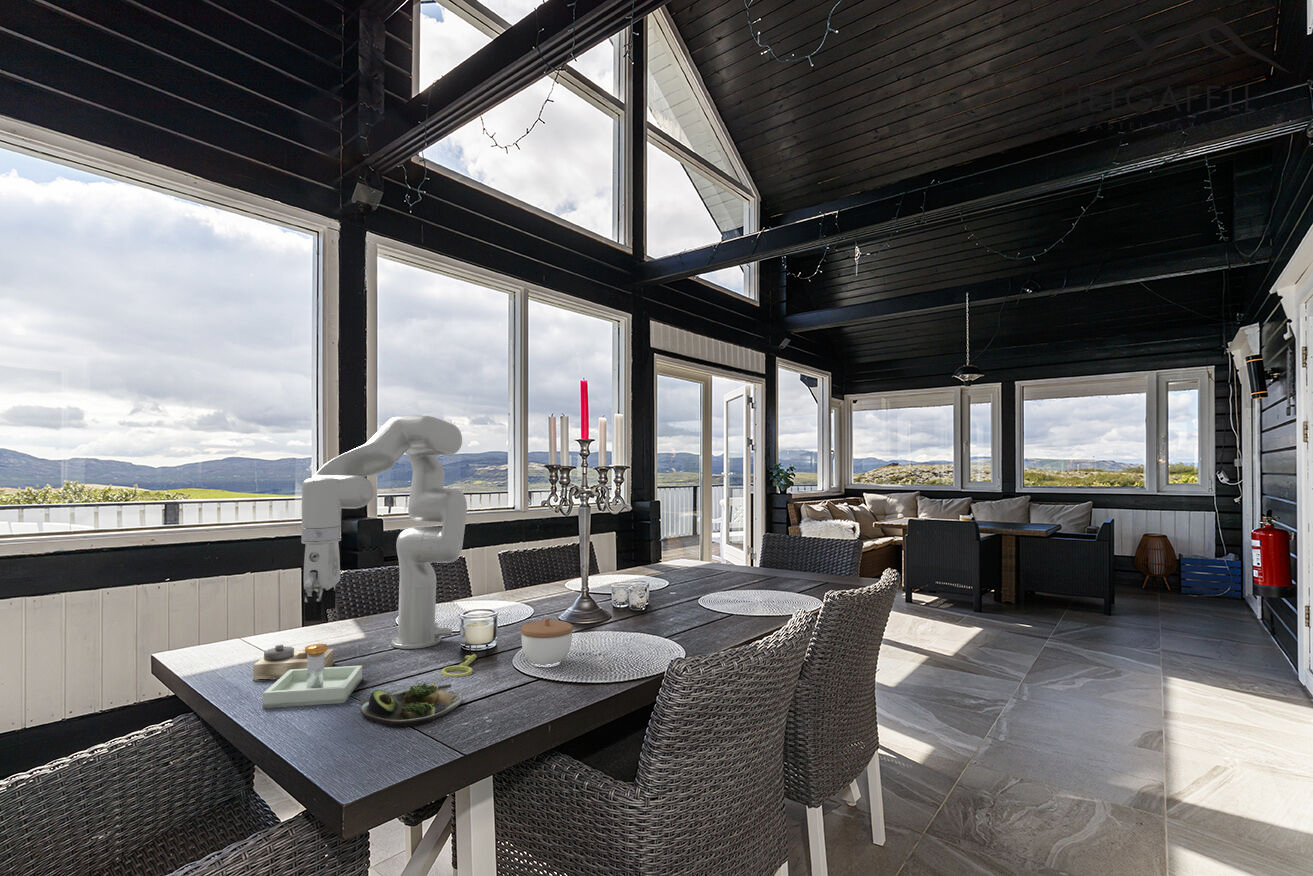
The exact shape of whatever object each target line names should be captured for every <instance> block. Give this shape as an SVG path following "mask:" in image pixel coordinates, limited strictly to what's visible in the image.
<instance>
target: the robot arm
mask: <svg viewBox="0 0 1313 876" xmlns="http://www.w3.org/2000/svg"><path fill="white" fill-rule="evenodd" d="M462 444H463V436H462V432H461V430H460V429H459V428H458V427H457V426H456V425H455V424H453V423H450V422H447V421H445V420H443V419H441V418H437V417H434V416H431V415H397V416H393V417H391V418H389V419H388V420H387V421H386V422H385V423H384V424H383V425H382V426H381V427H380V428H379V429H378V430H377V431H376V432H375V433H374V434H373V435H372V436H371V437H370V438H369V439H368V440H367V441H366V442H365V443H364V444H362V445H360V446H358V447H356V448H353V449H351V450H349V451H347V452H344V453H342V454H340V455H338V456H335V457H334V458H332V459H331V460H329V461H328V462H326V463H324V464H323V466H321V467H320V468H319V469H318V470H317V471H316V472H315V473H314V474H313V476H312V477H310V478H306V479H305V480H304V481H303V482H302V487H301V544H303V545H305V548H304V560H303V561H304V562H303V589H304V590H305V592H304V621H305V622H319V621H322V620H323V610H333V609H335V608H336V607H337V606H336V603H337V601H336V600H337V598H336V597H337V596H336V588H337V587H336V586H337V584H338V583H340V580H341V563H340V562H341V560H340V559H341V558H340V557H341V556H340V546H339V542H341V541H342V509H360V508H363V507H366V506H367V505H368V504H370V502H371V501H372V500H373V497H374V494H375V488H374V485H373V483H372V482H371V481H370V479H369V478H367V477H370V476H374V475H378V474H381V473H383V472H386V471H389V470H390V469H392V468H393V467H394V466H395V464H396V463H397V462H398V461H399V459H401V457H402V456H403V455H404V454H406V456H407V458H408V460H409V462H410V464H411V468H412V479H411V485H410V490H409V491H410V493H409V499H408V504H407V505H408V507H407V509H408V511H407V513H408V517H409V518H410V519H411V520H412V521H415V522H419V523H439V524H440V523H441V524H442V527H435V526H434V527H433V526H412V527H407V528H405V529H404V530H402V531H401V532H400V533H399V534H398V536H397V538H396V547H395V548H396V553H397V558H398V566H399V567H398V569H399V585H398V617H397V618H398V619H397V620H398V621H397V627H398V628H397V636H396V637H394V638H393V639H391V646H392V647H393V648H396V649H400V650H401V649H402V650H403V649H404V650H413V649H414V650H415V649H423V648H429V647H432V646H436V645H438V644H439V643H440V642H441V640H442V638H441V637H442V636H445V637H446V636H447V637H449V636H450V637H451V636H452V634H453V629H452V628H451V627H450V628H449V627H440V626H438V622H436V608H437V607H436V605H437V604H436V603H437V574H436V571H435V569H434V567H433V566H432V564H431V563H439V564H440V563H441V564H444V563H445V564H447V563H454V562H456V561H457V560H458V559H459V558H460V555H461V553H462V550H463V545H464V538H465V536H464V535H465V531H466V530H465V529H466V520H467V512H468V504H467V503H468V502H467V498H466V496H465V494H464V492H462V491H461V490H459V489H457V488H456V489H455V488H444V484H445V483H444V482H445V470H444V467H443V464H442V463H441V461H440V460H439V459H438V458H437V456H451V455H455V454H457V453H458V452H459V451H460V449H461V447H462Z"/></svg>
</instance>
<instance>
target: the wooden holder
mask: <svg viewBox="0 0 1313 876" xmlns="http://www.w3.org/2000/svg"><path fill="white" fill-rule="evenodd" d="M334 653H335V648H327V651H325V657H324V668H326V667H332V666H333V664H334V659H335V658H334V657H335V656H334ZM307 656H308V654H307V653H305V649H304V650H295V648H294V647H292V646H284V644H277V645H275V646H274V647H273V648H269V649H267V650H264V652H263V657H262V658H261V659H259V660H258V661H256V662H255V663H254V664H253V669H252V671H253V672H252V681H253V680H254V681H258V680H257V679H271V680H277V679H276V678H281V677H282V676H283V675H284V674H285V673H286V672H287V671H289V670H290V669H307ZM273 678H275V679H273Z"/></svg>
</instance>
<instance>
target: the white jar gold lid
mask: <svg viewBox="0 0 1313 876" xmlns="http://www.w3.org/2000/svg"><path fill="white" fill-rule="evenodd" d="M327 649H328V644H326V643H314V644H310V645H307V646H305V647H304V650H305V653H307V654H308V656H307V684H306V689H309V688H323V686H324V657H325V651H327Z"/></svg>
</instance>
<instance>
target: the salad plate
mask: <svg viewBox="0 0 1313 876" xmlns="http://www.w3.org/2000/svg"><path fill="white" fill-rule="evenodd" d="M435 685H436V683H435V682H432V683H431V685H428V684H427V683H425V682H424V683H423V684H422V685H421V684H418V685H411V686H410V687H408V688H404V689H401V690H399V691H396V692H394V693H391V694H390V693H389V692H387V691H384V690H381V689H375V690H373V691H372V693H371V694H370V697H369V698H366V699H362V700H360V701H358V702H357V703H356V704H358V705H361V709H360V713H361V715H362V717H364V719H365V720H367V721H368V722H371V723H374V724H377V725H379V726H384V727H389V728H410V727H416V726H417V727H418V726H421V725H423V724H426V723H427V724H428V723H429V722H430V723H431V722H432V721H434V720H436V719H438V718H441V717H442V716H444V715H446V714H448V713H449V712H451V711H452V710H454V709H456V708H457V707H458V706H460V704H461V703H462V701H463V700H462V698H463V697H462V696H461V695H460V694H457V693H451V692H447V690H448V689H451V687H452V684H450V683H448V684H441V685H436V686H435ZM437 704H441V705H445V707H444V709H443V710H442V711H438V712H436V708H435V705H437Z"/></svg>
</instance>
